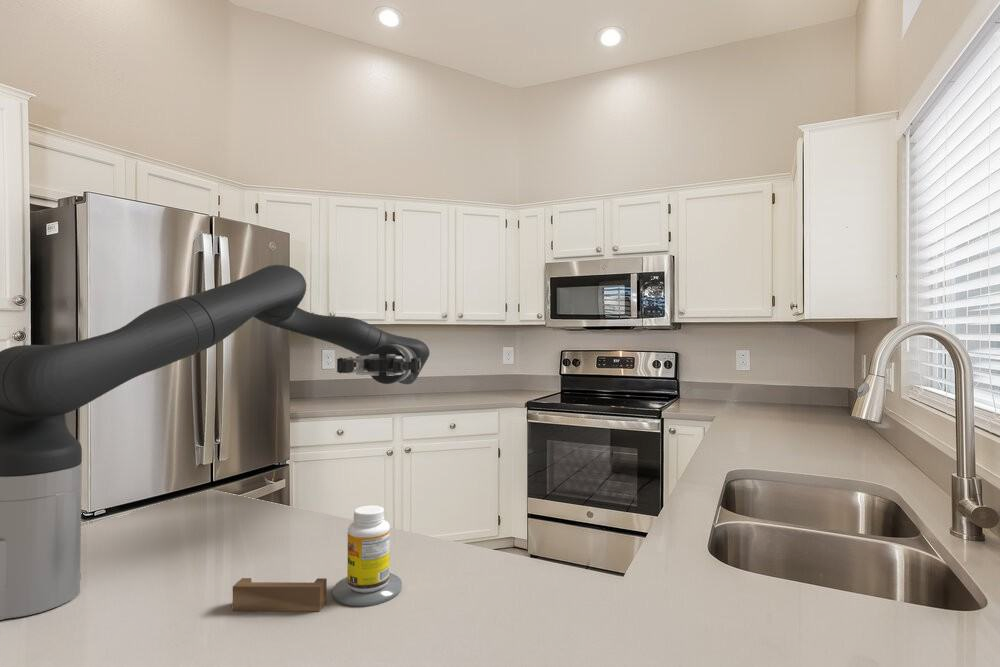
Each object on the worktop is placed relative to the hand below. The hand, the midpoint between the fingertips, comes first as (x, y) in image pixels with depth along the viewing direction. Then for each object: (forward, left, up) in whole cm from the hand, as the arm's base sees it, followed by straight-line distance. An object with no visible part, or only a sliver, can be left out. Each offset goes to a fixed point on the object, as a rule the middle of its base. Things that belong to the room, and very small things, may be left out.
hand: (369, 366), depth 88 cm
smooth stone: (-10, -12, -30) cm, 34 cm away
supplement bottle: (-10, -12, -29) cm, 33 cm away
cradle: (-20, -7, -30) cm, 36 cm away
